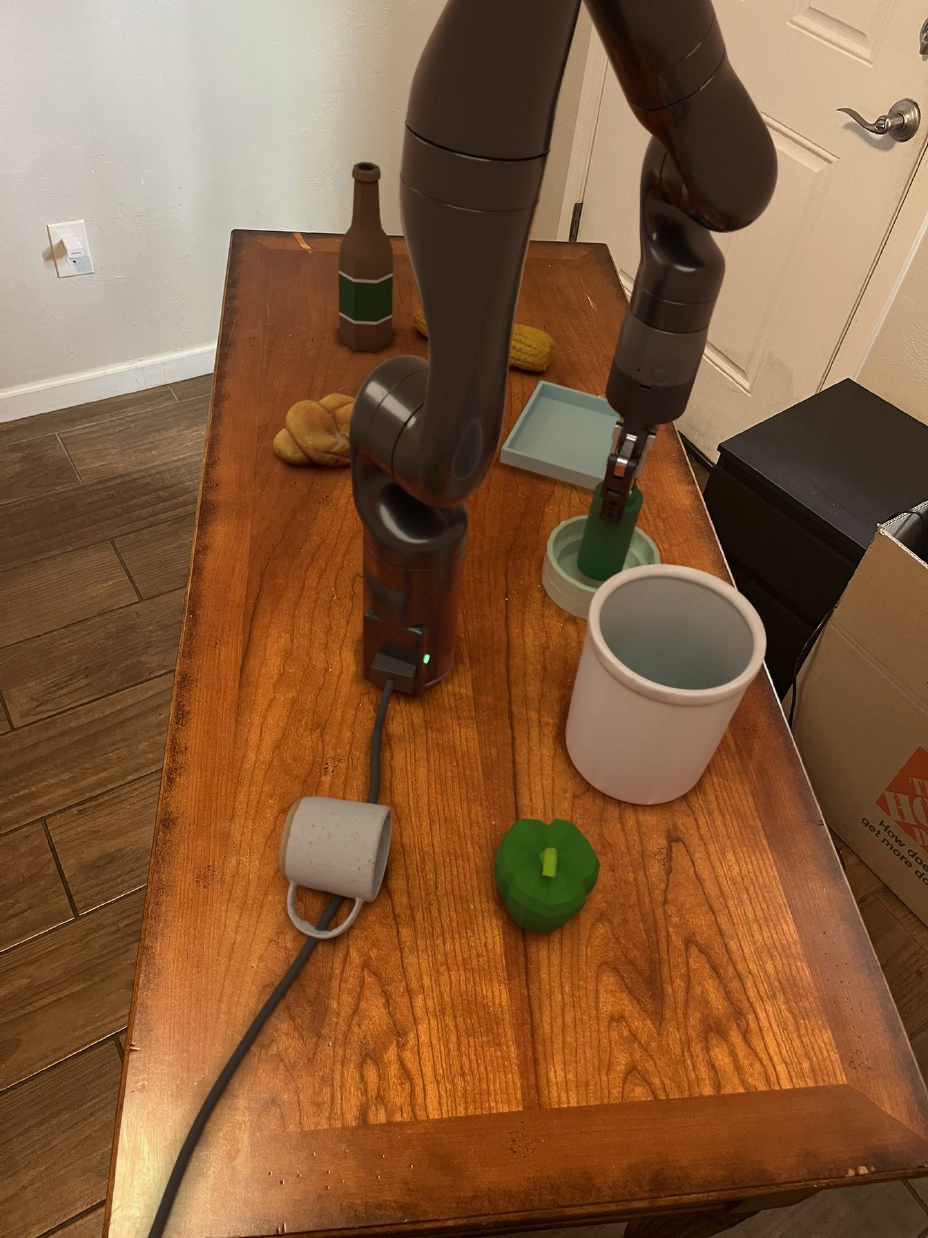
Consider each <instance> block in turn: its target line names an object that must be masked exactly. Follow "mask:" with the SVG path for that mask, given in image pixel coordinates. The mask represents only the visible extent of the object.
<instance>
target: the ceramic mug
mask: <svg viewBox="0 0 928 1238" xmlns="http://www.w3.org/2000/svg"><path fill="white" fill-rule="evenodd" d="M282 829H283V830H282V833H281V837H280V843H279V852H278V869H279V872H280V874H281V876H282V877H283V879H285V880H287V881H288V883H289V887H288V891H287V899H286V906H287V907H286V908H287V913H288V916H289V919H290V920H291V922H292V924H293V925H294V927H295V928H296V929H297V930H298V931H299V932H301V933H302V934H305V935H307V936H309V937H310V936H311V937H314V938H319V940H326V939H327V940H328V939H332V938H336V937H339V936H340V935H342V934H343V933H344V932H346V931H348V929H350V928H351V926H352V925H353V923H354V922H355V921H356V919H357V917H358V915H359V913H360V911H361V909H362V906H363V904H364V902H368V903H372V902H374V901H375V899H376V898H377V896H378V894H379V892H380V890H381V885H382V882H383V879H384V875H385V871H386V867H387V864H388V858H389V852H390V847H391V840H392V835H393V834H392V833H393V811H392V808H391V807H390V806H388V805H386V804H378V803H377V804H370V803H367V802H362V801H355V800H347V799H339V798H334V797H333V798H332V797H329V796H320V795H319V796H317V795H315V796H314V795H313V796H303V797H300V798H298V799H297V800H295V802H294V803H293V804H292V805H291V807H290V809H289V811H288V813H287V815H286V819H285V821H284V825H283V828H282ZM298 886H300V887H304V888H308V889H313V890H317V891H323V892H327V893H331V894H333V895H334V894H337V895H340V896H344V897H346V898H350V899H353V900H355V904H354V906H353V909H352V910H351V912H350V913H349V915H348V917H346V920H344V922H342V924H340V925H339V926H337V927H336V928H333V930H327V929H325V930H324V931H318V930H315V927H316V926H314V925H313V924H311V923H310V922H309V921H308V920H302V919H301V918H300V917H299V916H298V912H297V911H296V894H297V889H298Z"/></svg>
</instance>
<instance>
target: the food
mask: <svg viewBox="0 0 928 1238" xmlns="http://www.w3.org/2000/svg"><path fill="white" fill-rule="evenodd" d="M414 311H415V312H413V315H412V316H411V317H412V323H413V325H414V328H416V329H417V330H418V332H419V333H421V334H422V335H423V336H425V337H426V338H428V335H427V328H426V322H425V317H424V313H423V309H422V307H421V308H417V309H415V310H414ZM556 344H557V343H556V340H554V337H552V336H551V335H550V334H548V333H547V332H545V331H544V330H542V329H539V328H536V327H532V326H530V325H525V324H519V323H515V324H514V330H513V337H512V345H511V354H510V363H509V366H514V367H516V368H519V369H522V370H526V371H527V370H528V371H533V372H538V373H539V372H545V371H547V367H548V366H549V365H550V364H551V362H552V359H553V358H554V357H555V355H556V354H555V351H556Z"/></svg>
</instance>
